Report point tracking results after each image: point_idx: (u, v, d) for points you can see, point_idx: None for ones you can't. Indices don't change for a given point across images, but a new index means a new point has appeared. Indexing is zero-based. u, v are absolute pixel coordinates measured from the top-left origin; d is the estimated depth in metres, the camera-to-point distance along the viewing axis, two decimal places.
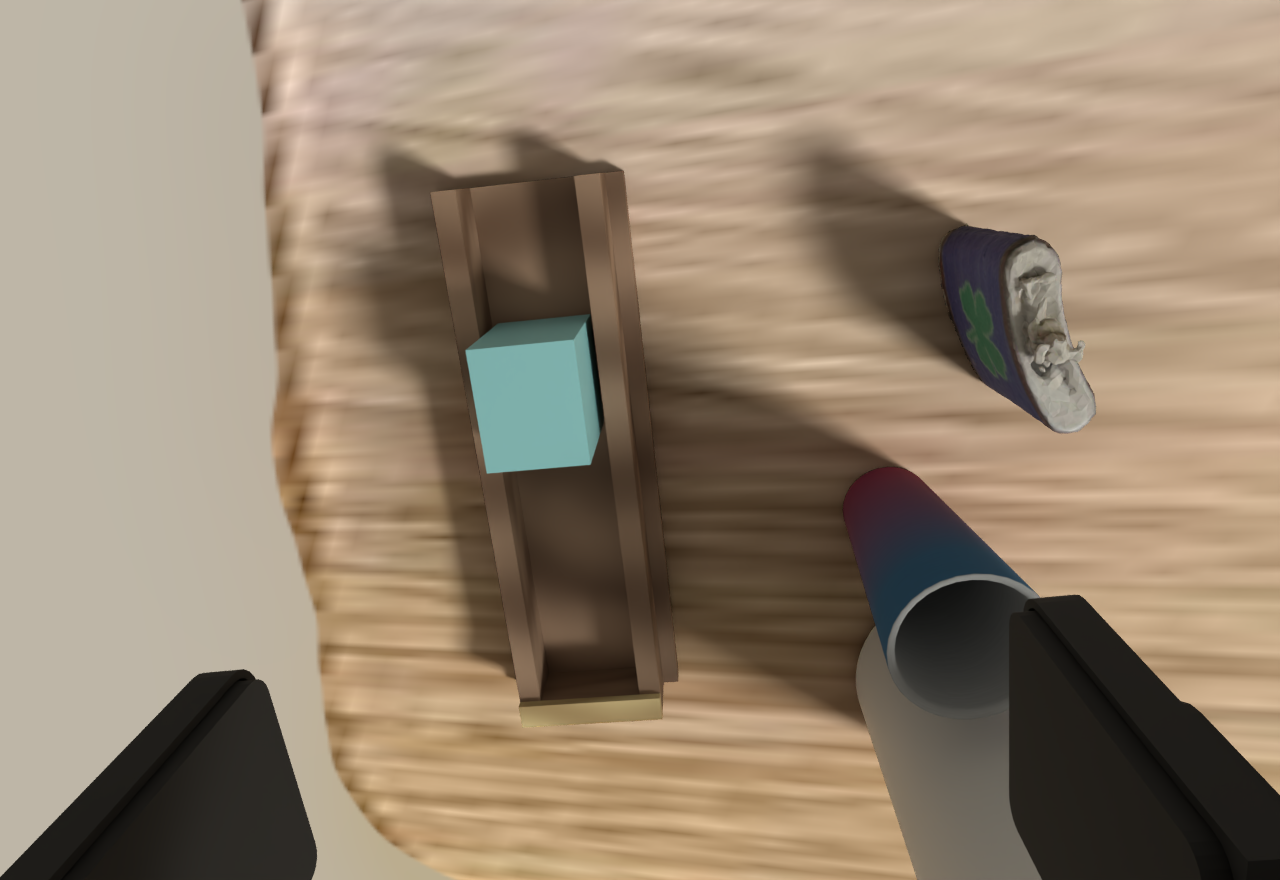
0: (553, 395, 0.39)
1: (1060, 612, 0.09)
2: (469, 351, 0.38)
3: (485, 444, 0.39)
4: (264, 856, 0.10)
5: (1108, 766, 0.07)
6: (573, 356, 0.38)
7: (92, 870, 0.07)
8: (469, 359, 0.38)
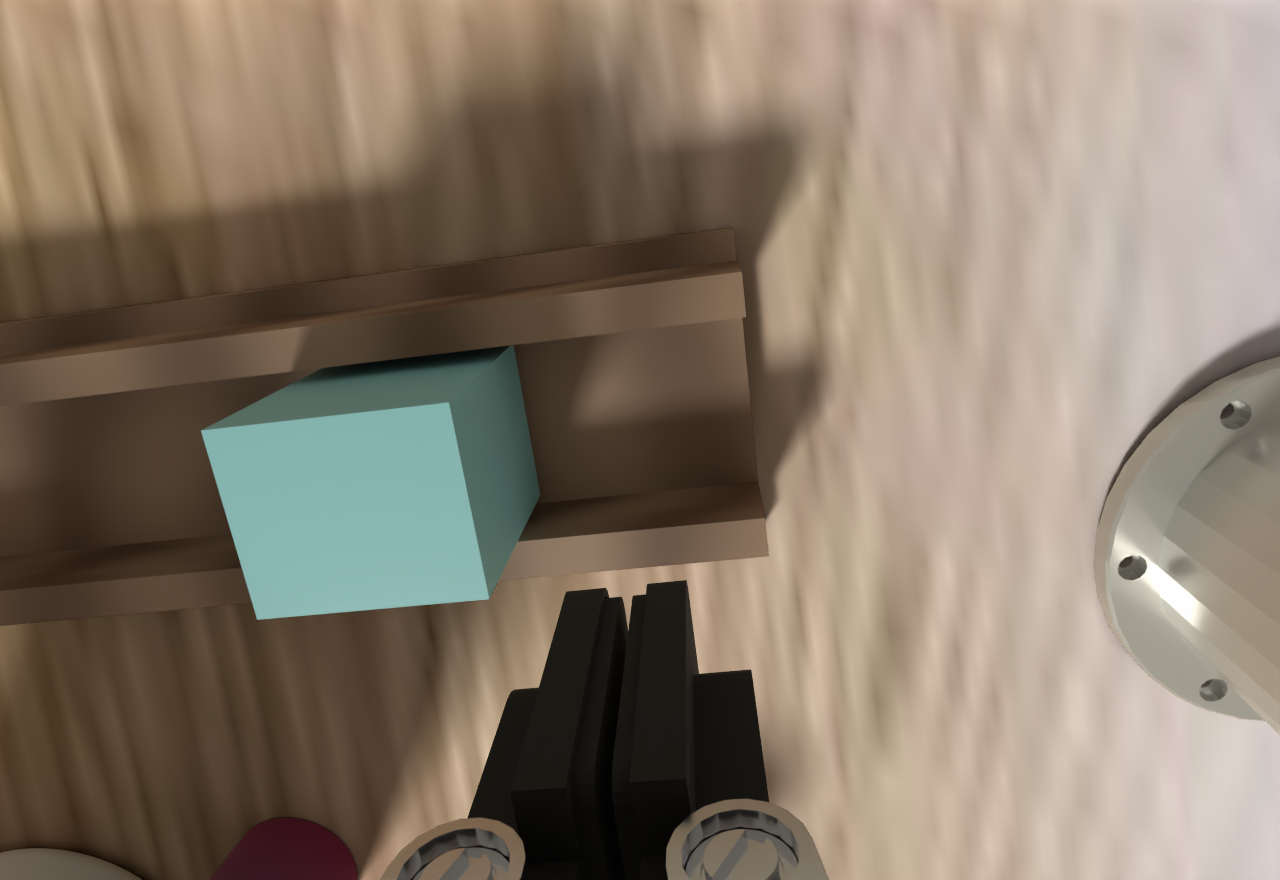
0: (379, 561, 0.20)
1: (657, 594, 0.10)
2: (447, 409, 0.19)
3: (261, 431, 0.19)
4: None
5: None
6: (457, 597, 0.20)
7: (596, 741, 0.08)
8: (431, 409, 0.19)
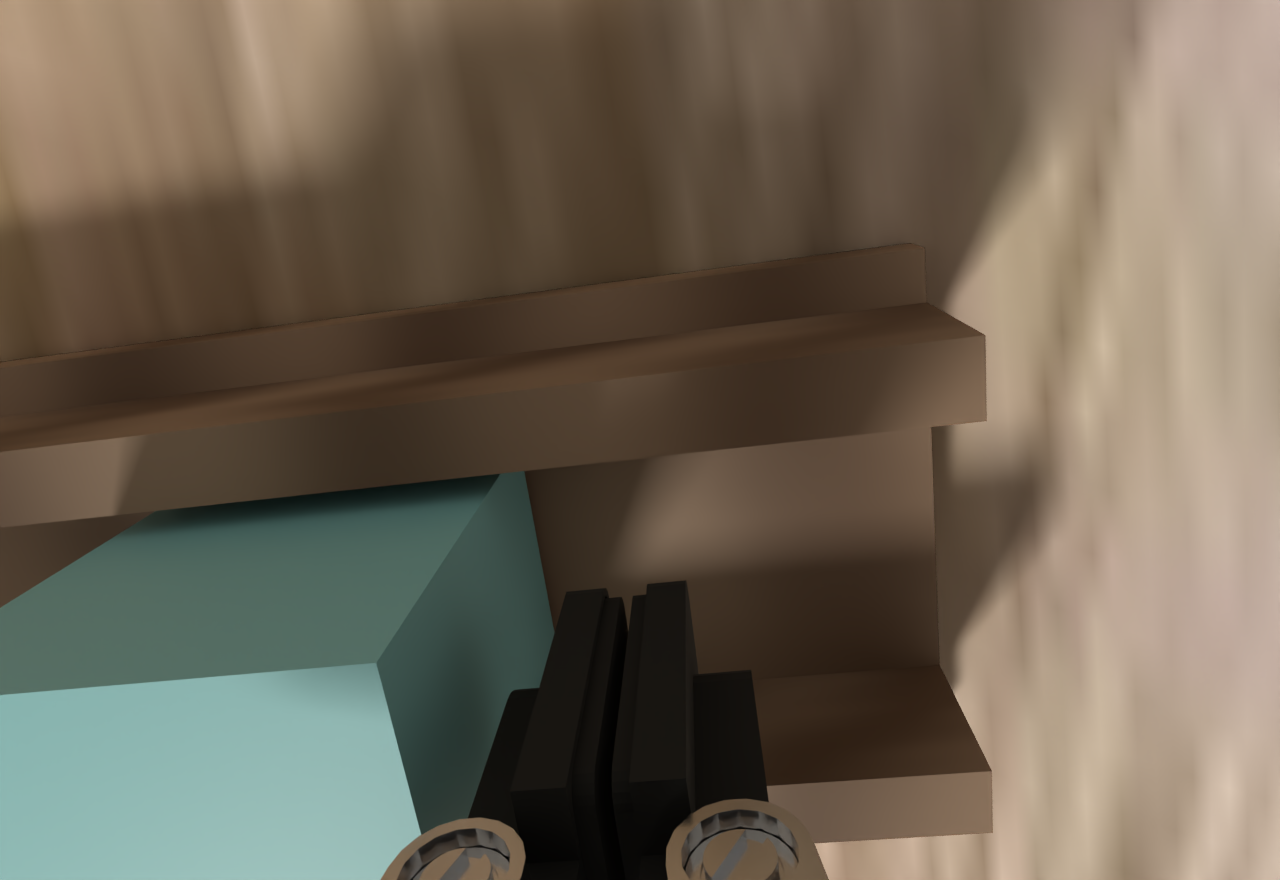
0: None
1: (657, 594, 0.10)
2: (373, 676, 0.08)
3: None
4: None
5: None
6: None
7: (596, 740, 0.08)
8: (337, 675, 0.08)
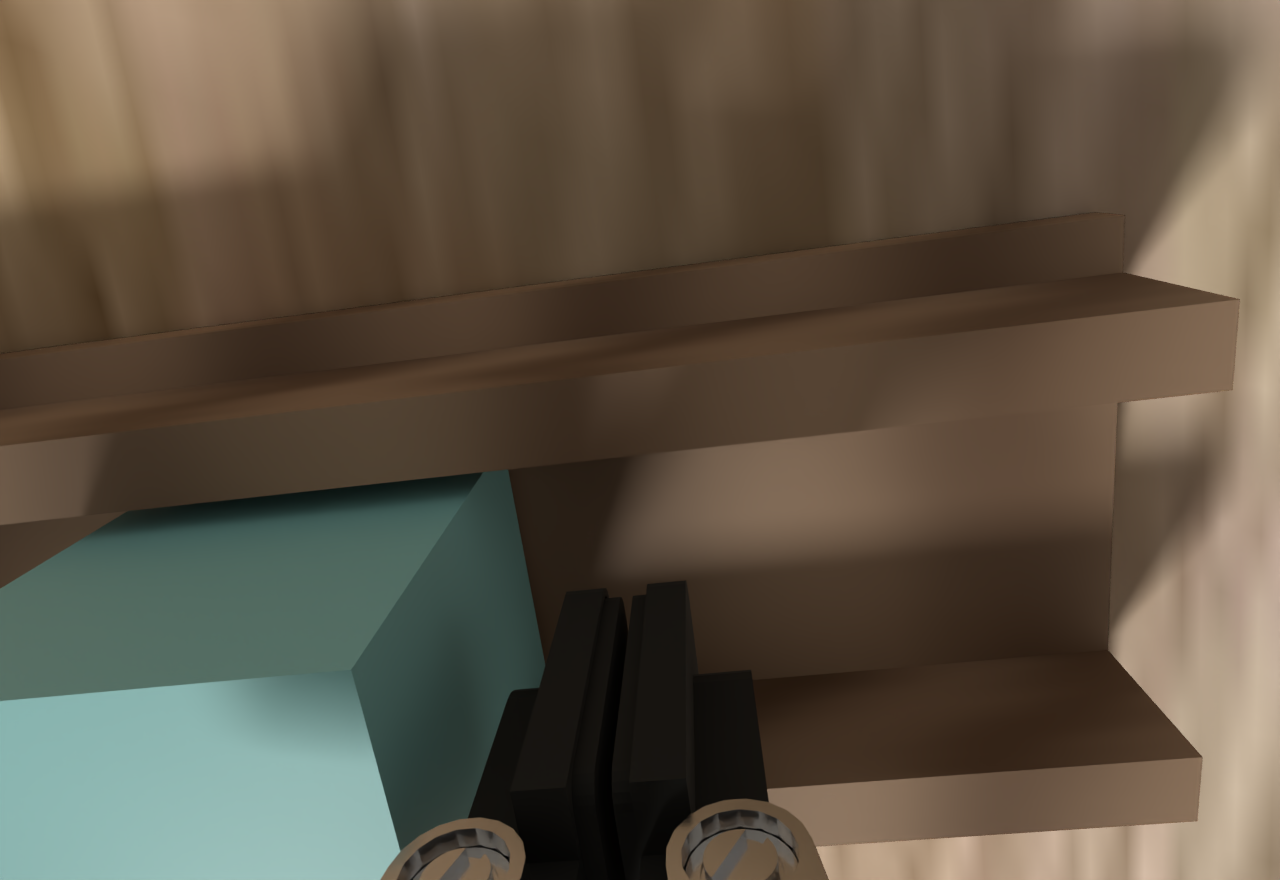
0: None
1: (658, 594, 0.10)
2: (348, 683, 0.08)
3: None
4: None
5: None
6: None
7: (596, 741, 0.08)
8: (310, 682, 0.08)
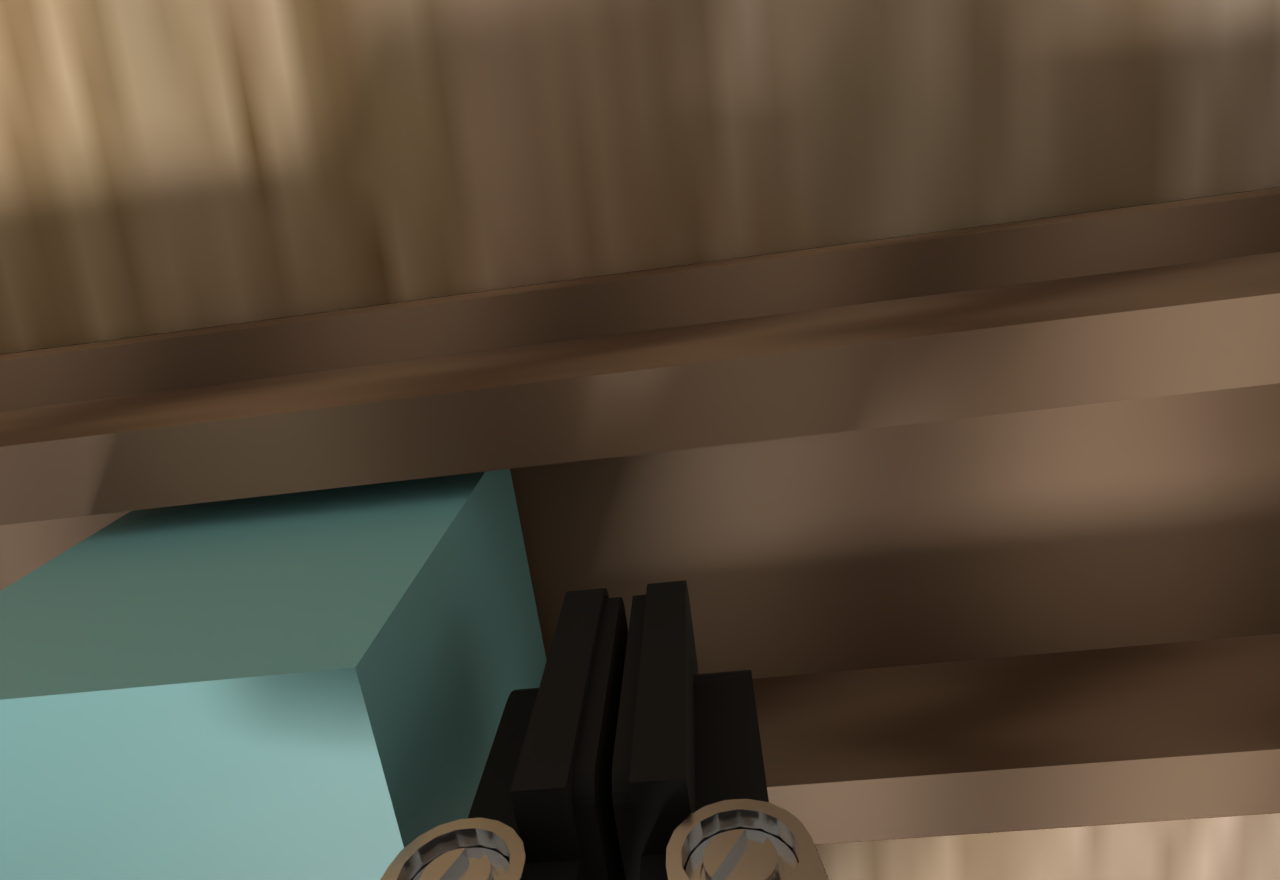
0: None
1: (658, 594, 0.10)
2: (352, 681, 0.08)
3: None
4: None
5: None
6: None
7: (596, 740, 0.08)
8: (314, 680, 0.08)
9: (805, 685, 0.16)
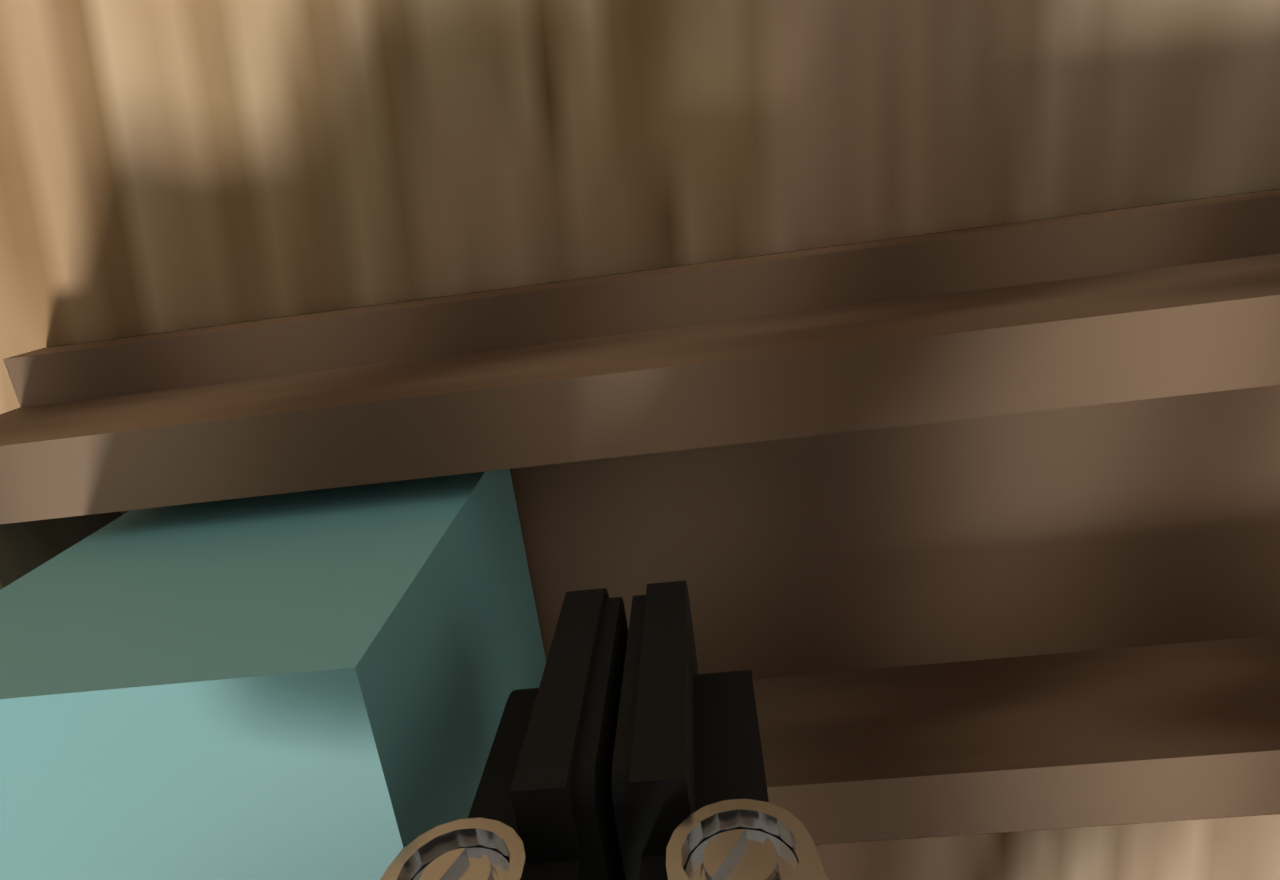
0: None
1: (657, 594, 0.10)
2: (352, 681, 0.08)
3: None
4: None
5: None
6: None
7: (596, 740, 0.08)
8: (314, 680, 0.08)
9: (1094, 662, 0.15)
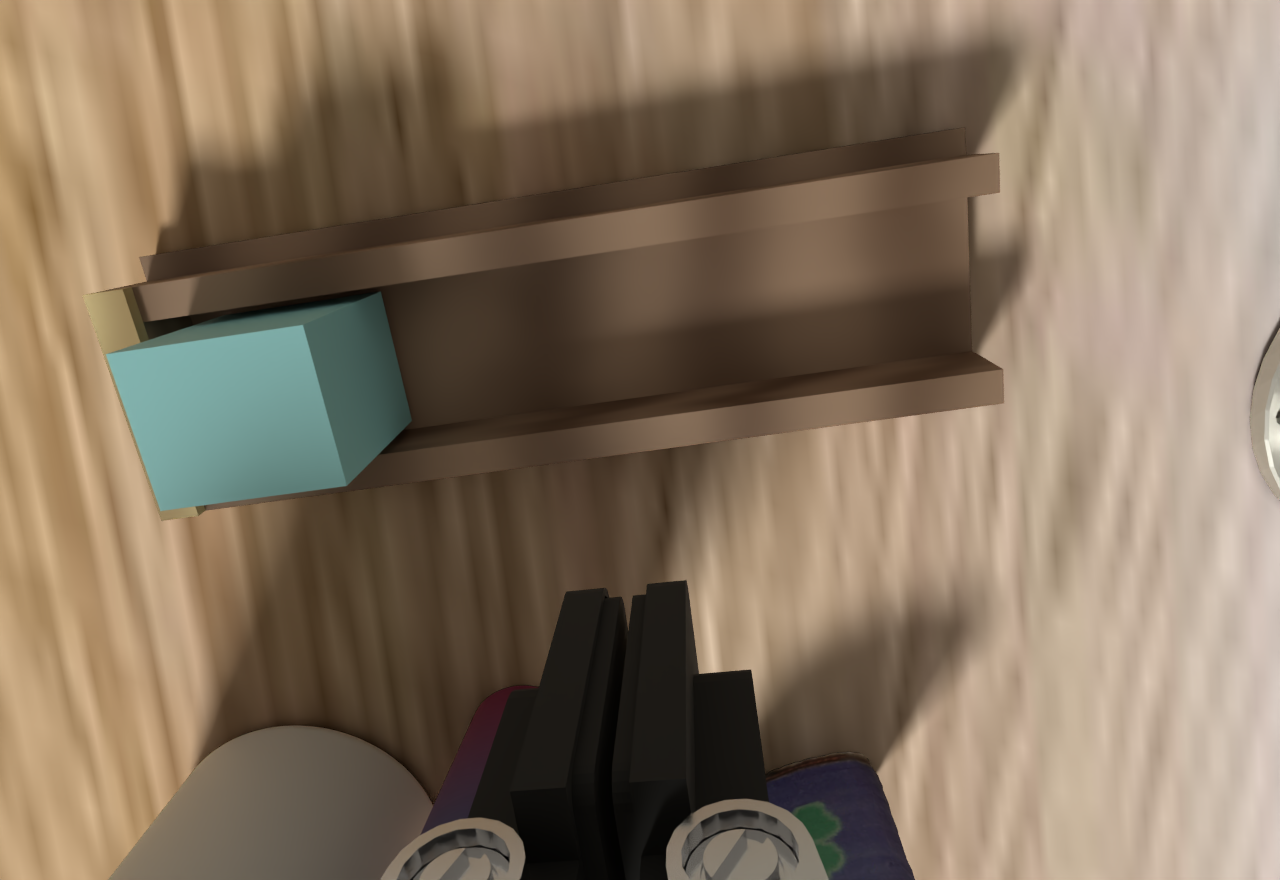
0: (256, 457, 0.25)
1: (658, 594, 0.10)
2: (302, 330, 0.24)
3: (154, 353, 0.24)
4: None
5: None
6: (321, 485, 0.26)
7: (595, 740, 0.08)
8: (289, 330, 0.24)
9: (676, 394, 0.32)
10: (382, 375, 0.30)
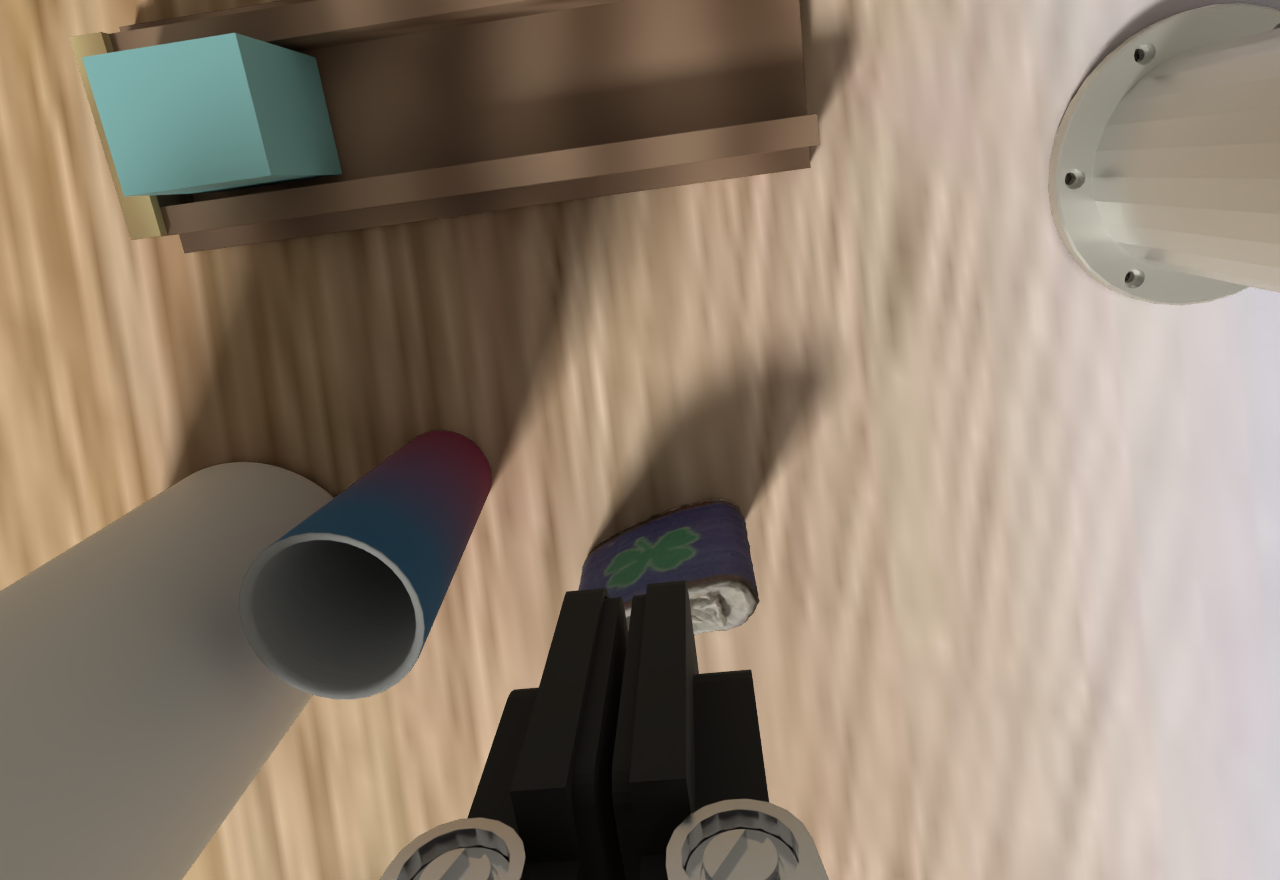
0: (199, 149, 0.32)
1: (658, 594, 0.10)
2: (234, 38, 0.31)
3: (119, 56, 0.31)
4: None
5: None
6: (250, 174, 0.32)
7: (596, 740, 0.08)
8: (224, 37, 0.31)
9: None
10: (313, 120, 0.36)
